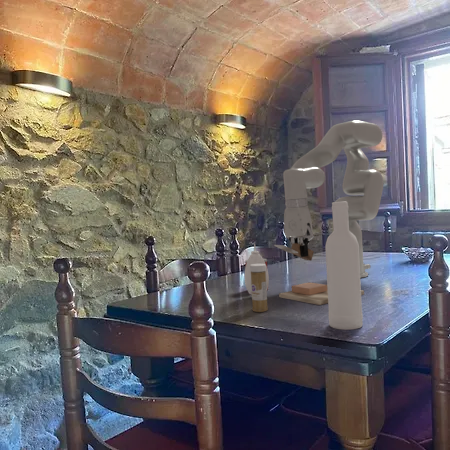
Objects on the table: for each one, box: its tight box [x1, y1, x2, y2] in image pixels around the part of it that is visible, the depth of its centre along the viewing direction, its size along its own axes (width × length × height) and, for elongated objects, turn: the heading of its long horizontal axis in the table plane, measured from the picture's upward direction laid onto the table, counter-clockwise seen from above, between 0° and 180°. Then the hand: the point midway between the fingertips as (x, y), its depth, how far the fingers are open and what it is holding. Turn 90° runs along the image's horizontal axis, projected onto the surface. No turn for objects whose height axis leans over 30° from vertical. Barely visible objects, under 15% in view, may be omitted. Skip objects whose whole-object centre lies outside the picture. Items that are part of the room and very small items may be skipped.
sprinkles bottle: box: [250, 264, 269, 313], centre depth 130 cm, size 5×5×14 cm
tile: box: [291, 282, 327, 295], centre depth 147 cm, size 2×8×8 cm
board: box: [278, 288, 365, 306], centre depth 146 cm, size 20×18×1 cm
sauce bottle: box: [244, 242, 270, 296], centre depth 148 cm, size 8×8×18 cm
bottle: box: [324, 201, 364, 331], centre depth 109 cm, size 8×8×30 cm
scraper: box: [273, 243, 315, 262], centre depth 158 cm, size 15×5×4 cm, turn 125°
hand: (300, 255), depth 159 cm, fingers closed on scraper, 3 cm apart
